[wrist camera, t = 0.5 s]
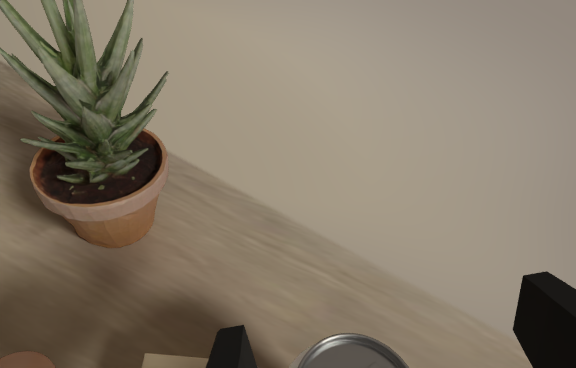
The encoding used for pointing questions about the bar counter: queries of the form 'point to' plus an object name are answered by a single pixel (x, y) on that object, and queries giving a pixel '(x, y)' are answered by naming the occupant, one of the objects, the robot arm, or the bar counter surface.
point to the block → (172, 361)
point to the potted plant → (92, 129)
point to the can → (348, 353)
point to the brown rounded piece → (26, 360)
